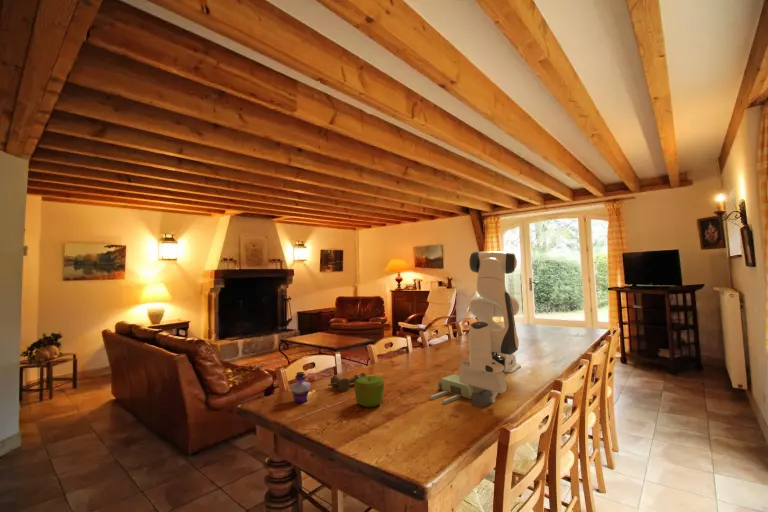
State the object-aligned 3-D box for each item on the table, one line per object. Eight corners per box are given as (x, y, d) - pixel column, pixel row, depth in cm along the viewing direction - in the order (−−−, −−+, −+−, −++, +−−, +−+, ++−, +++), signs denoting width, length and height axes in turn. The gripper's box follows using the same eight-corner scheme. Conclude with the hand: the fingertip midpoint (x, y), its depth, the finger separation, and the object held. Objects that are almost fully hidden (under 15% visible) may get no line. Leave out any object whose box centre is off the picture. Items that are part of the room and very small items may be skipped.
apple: (368, 396, 149) (368, 370, 149) (391, 402, 141) (390, 374, 142) (348, 405, 139) (347, 377, 140) (370, 413, 131) (370, 382, 132)
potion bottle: (314, 398, 148) (314, 370, 149) (305, 406, 140) (304, 376, 141) (296, 396, 151) (296, 369, 151) (286, 404, 142) (285, 374, 143)
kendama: (370, 386, 164) (332, 394, 153) (359, 382, 172) (322, 389, 160) (369, 373, 165) (332, 380, 153) (359, 369, 173) (322, 376, 161)
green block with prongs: (453, 383, 163) (453, 373, 163) (489, 393, 148) (488, 382, 149) (420, 395, 149) (420, 383, 149) (456, 408, 134) (455, 395, 134)
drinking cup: (487, 389, 154) (485, 344, 155) (490, 384, 161) (489, 341, 162) (505, 391, 151) (503, 345, 152) (508, 386, 157) (506, 342, 158)
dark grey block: (484, 400, 142) (483, 385, 142) (492, 403, 139) (492, 388, 139) (472, 405, 137) (471, 390, 137) (480, 408, 134) (480, 393, 134)
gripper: (455, 360, 144) (456, 394, 143) (499, 369, 129) (500, 407, 128) (464, 357, 148) (465, 390, 148) (508, 366, 133) (509, 403, 132)
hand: (482, 398), depth 138 cm, fingers open, 8 cm apart
